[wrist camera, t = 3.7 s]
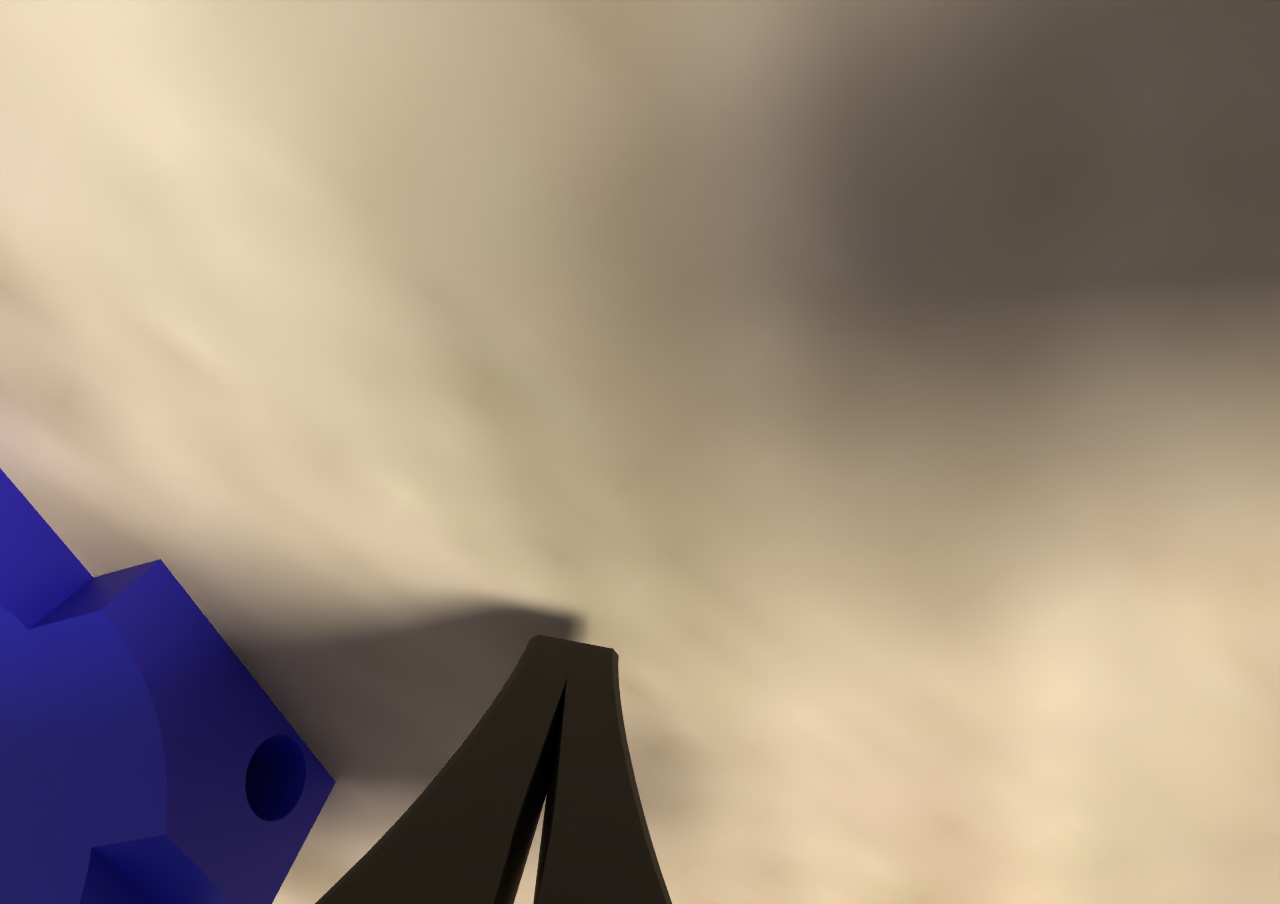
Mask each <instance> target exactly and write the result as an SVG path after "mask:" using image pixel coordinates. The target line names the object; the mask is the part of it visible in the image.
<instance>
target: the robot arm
mask: <svg viewBox="0 0 1280 904" xmlns="http://www.w3.org/2000/svg"><path fill="white" fill-rule="evenodd" d="M546 794H547V796H546ZM545 797H546V804H545V812H544V820H543V829H542V837H541V845H540V853H539V862H538V870H537V878H536V887H535V895H534V903H533V904H672V902H671V899H670V896H669V893H668V890H667V887H666V885H665V882H664V879H663V876H662V873H661V870H660V867H659V863H658V860H657V857H656V854H655V851H654V847H653V844H652V841H651V837H650V834H649V830H648V827H647V823H646V820H645V816H644V812H643V809H642V805H641V801H640V797H639V793H638V789H637V785H636V781H635V777H634V772H633V767H632V763H631V758H630V753H629V749H628V744H627V739H626V733H625V728H624V721H623V714H622V707H621V700H620V691H619V677H618V654H617V653H616V652H615V651H614V649H611V648H606V647H601V646H595V645H590V644H585V643H579V642H574V641H568V640H563V639H558V638H552V637H547V636H542V635H537V636H535V637H533V638H531V639H530V641H529V643H528V645H527V647H526V650H525V652H524V654H523V655H522V657H521V659H520V661H519V663H518V664H517V666H516V668H515V669H514V671H513V673H512V674H511V676H510V678H509V679H508V681H507V682H506V684H505V685H504V687H503V688H502V690H501V691H500V693H499V694H498V696H497V697H496V699H495V700H494V702H493V703H492V705H491V706H490V707H489V709H488V710H487V712H486V713H485V714H484V716H483V717H482V718H481V720H480V721H479V723H478V724H477V725H476V727H475V728H474V729H473V731H472V732H471V734H470V735H469V736H468V738H467V739H466V740H465V742H464V743H463V744H462V745H461V747H460V748H459V749H458V750H457V752H456V753H455V754H454V755H453V756H452V758H451V759H450V760H449V761H448V763H447V764H446V765H445V766H444V767H443V769H442V770H441V771H440V772H439V774H438V775H437V776H436V777H435V778H434V780H433V781H432V782H431V783H430V784H429V786H428V787H427V788H426V789H425V790H424V792H423V793H422V794H421V795H420V796H419V797H418V798H417V800H416V801H415V802H414V803H413V804H412V805H411V806H410V807H409V809H408V810H407V811H406V812H405V813H404V814H403V815H402V816H401V817H400V819H399V820H398V821H397V822H396V823H395V824H394V825H393V826H392V827H391V828H390V829H389V830H388V831H387V832H386V833H385V835H384V836H383V837H382V838H381V839H380V840H379V841H378V842H377V843H376V844H375V845H374V846H373V847H372V848H371V849H370V850H369V851H368V852H367V853H366V854H365V855H364V856H363V857H362V858H361V859H360V860H359V861H358V862H357V863H356V864H355V865H354V866H353V867H352V868H351V869H350V870H349V871H348V872H347V873H346V874H345V875H344V876H343V877H342V878H341V879H340V880H339V881H338V882H337V883H336V884H335V885H334V886H333V887H332V888H331V889H330V890H329V891H328V892H327V893H326V894H325V895H324V896H323V897H321V898H320V899H319V900H318V901H317V902H316V903H315V904H513V903H514V900H515V897H516V893H517V890H518V887H519V884H520V880H521V877H522V874H523V870H524V867H525V864H526V860H527V857H528V854H529V850H530V847H531V844H532V840H533V837H534V834H535V831H536V827H537V824H538V821H539V817H540V814H541V811H542V807H543V804H544V801H545Z"/></svg>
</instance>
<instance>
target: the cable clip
mask: <svg viewBox="0 0 1280 904" xmlns="http://www.w3.org/2000/svg"><path fill="white" fill-rule="evenodd" d="M335 783H336V782H335V781H334V780H333V778H332V777H331V776H330V775H329V773H328V772H327V771H326V769H325V768H324V767H323V766H322V764H321V763H320V762H319V761H318V759H317V758H316V757H315V755H314V754H313V753H312V752H311V750H310V749H309V748H308V747H307V745H306V744H305V743H304V741H303V740H302V739H301V738H300V736H299V735H298V734H297V733H296V731H295V730H294V729H293V727H292V726H291V725H290V724H289V722H288V721H287V720H286V719H285V717H284V716H283V715H282V713H281V712H280V711H279V710H278V708H277V707H276V706H275V705H274V703H273V702H272V701H271V699H270V698H269V697H268V696H267V694H266V693H265V692H264V691H263V689H262V688H261V687H260V685H259V684H258V683H257V682H256V680H255V679H254V678H253V677H252V675H251V674H250V673H249V671H248V670H247V669H246V668H245V666H244V665H243V664H242V663H241V661H240V660H239V659H238V657H237V656H236V655H235V654H234V652H233V651H232V650H231V649H230V647H229V646H228V645H227V643H226V642H225V641H224V640H223V638H222V637H221V636H220V635H219V633H218V632H217V631H216V629H215V628H214V627H213V626H212V624H211V623H210V622H209V621H208V619H207V618H206V617H205V615H204V614H203V613H202V612H201V610H200V609H199V608H198V607H197V605H196V604H195V603H194V601H193V600H192V599H191V598H190V596H189V595H188V594H187V593H186V591H185V590H184V589H183V587H182V586H181V585H180V584H179V582H178V581H177V580H176V579H175V577H174V576H173V575H172V573H171V572H170V571H169V570H168V568H167V567H166V566H165V565H164V563H163V562H162V561H161V559H160V560H156V561H153V562H149V563H145V564H142V565H138V566H134V567H131V568H127V569H124V570H120V571H116V572H113V573H109V574H105V575H102V576H98V577H94V578H93V577H92V576H91V574H90V573H89V572H88V571H87V570H86V568H85V567H84V566H83V565H82V564H81V563H80V561H79V560H78V559H77V558H76V557H75V556H74V554H73V553H72V552H71V551H70V550H69V549H68V547H67V546H66V545H65V544H64V543H63V541H62V540H61V539H60V538H59V537H58V536H57V534H56V533H55V532H54V531H53V530H52V529H51V527H50V526H49V525H48V524H47V523H46V521H45V520H44V519H43V518H42V517H41V516H40V514H39V513H38V512H37V511H36V510H35V509H34V507H33V506H32V505H31V504H30V503H29V502H28V500H27V499H26V498H25V497H24V496H23V494H22V493H21V492H20V491H19V490H18V489H17V487H16V486H15V485H14V484H13V483H12V482H11V480H10V479H9V478H8V477H7V476H6V474H5V473H4V472H3V471H2V470H1V469H0V904H272V902H273V901H274V899H275V897H276V895H277V893H278V891H279V889H280V887H281V885H282V883H283V881H284V880H285V878H286V876H287V874H288V872H289V870H290V868H291V866H292V864H293V862H294V861H295V859H296V857H297V855H298V853H299V851H300V849H301V847H302V845H303V843H304V842H305V840H306V838H307V836H308V834H309V832H310V830H311V828H312V826H313V824H314V822H315V821H316V819H317V817H318V815H319V813H320V811H321V809H322V807H323V805H324V803H325V802H326V800H327V798H328V796H329V794H330V792H331V790H332V788H333V786H334V784H335Z"/></svg>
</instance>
